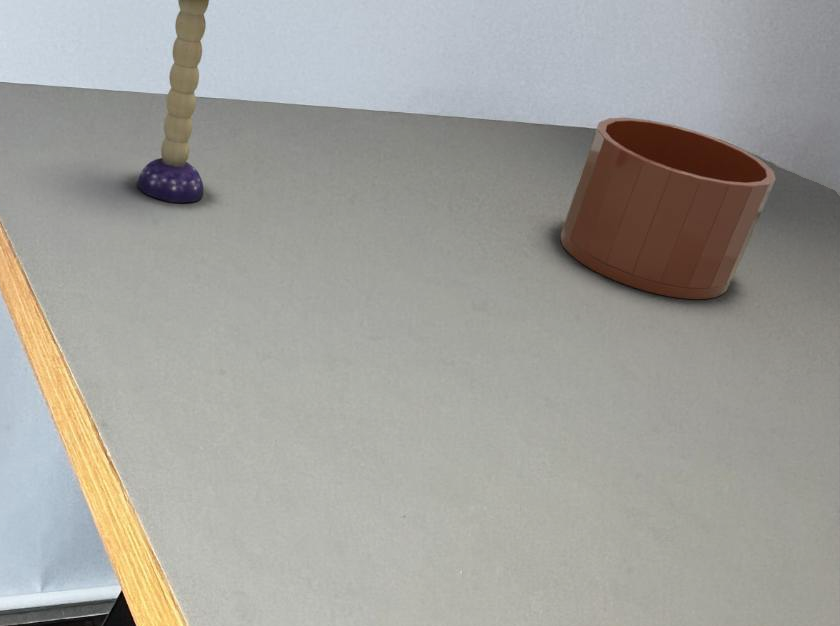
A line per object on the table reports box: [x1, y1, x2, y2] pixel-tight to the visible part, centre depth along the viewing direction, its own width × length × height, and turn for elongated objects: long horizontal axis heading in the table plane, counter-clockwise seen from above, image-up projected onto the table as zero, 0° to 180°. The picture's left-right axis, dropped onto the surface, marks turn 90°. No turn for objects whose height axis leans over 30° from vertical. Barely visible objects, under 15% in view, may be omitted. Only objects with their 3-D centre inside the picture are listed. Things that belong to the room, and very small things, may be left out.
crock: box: [560, 117, 776, 300], centre depth 86 cm, size 12×12×8 cm
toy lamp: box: [137, 0, 210, 203], centre depth 75 cm, size 5×5×17 cm
